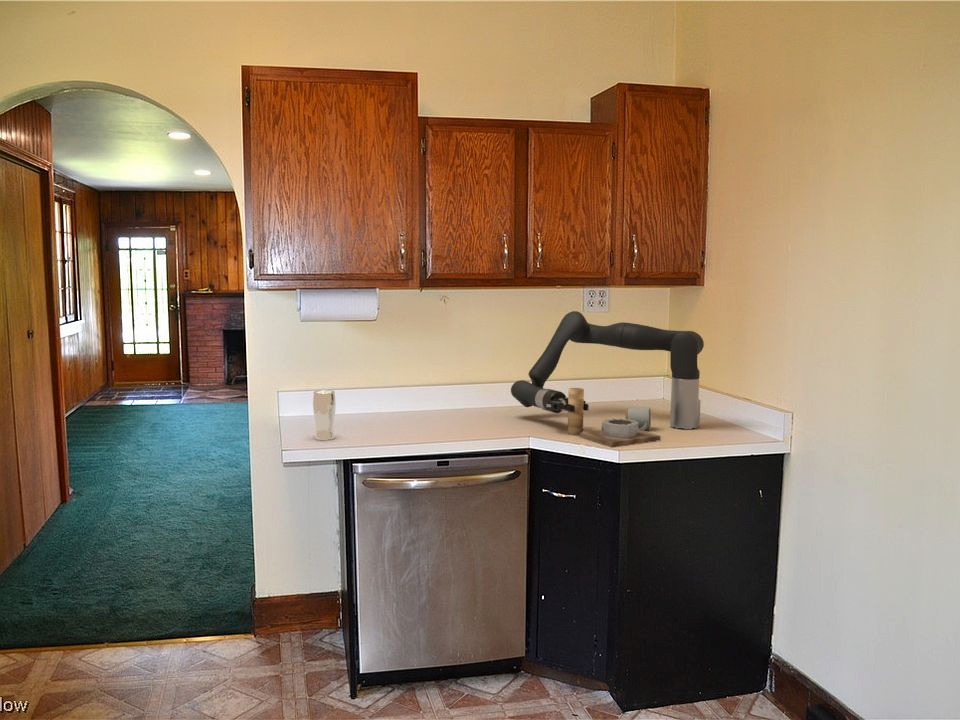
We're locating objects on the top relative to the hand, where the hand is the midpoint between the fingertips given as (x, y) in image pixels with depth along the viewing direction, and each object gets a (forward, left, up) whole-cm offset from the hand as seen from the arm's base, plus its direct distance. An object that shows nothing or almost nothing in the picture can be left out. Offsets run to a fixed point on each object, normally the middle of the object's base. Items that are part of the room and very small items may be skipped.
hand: (580, 408), depth 259 cm
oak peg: (0, -3, -9) cm, 9 cm away
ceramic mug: (-23, +2, -9) cm, 25 cm away
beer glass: (+75, -35, -9) cm, 83 cm away
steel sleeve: (-8, +10, -7) cm, 15 cm away
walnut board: (-8, +10, -9) cm, 16 cm away
